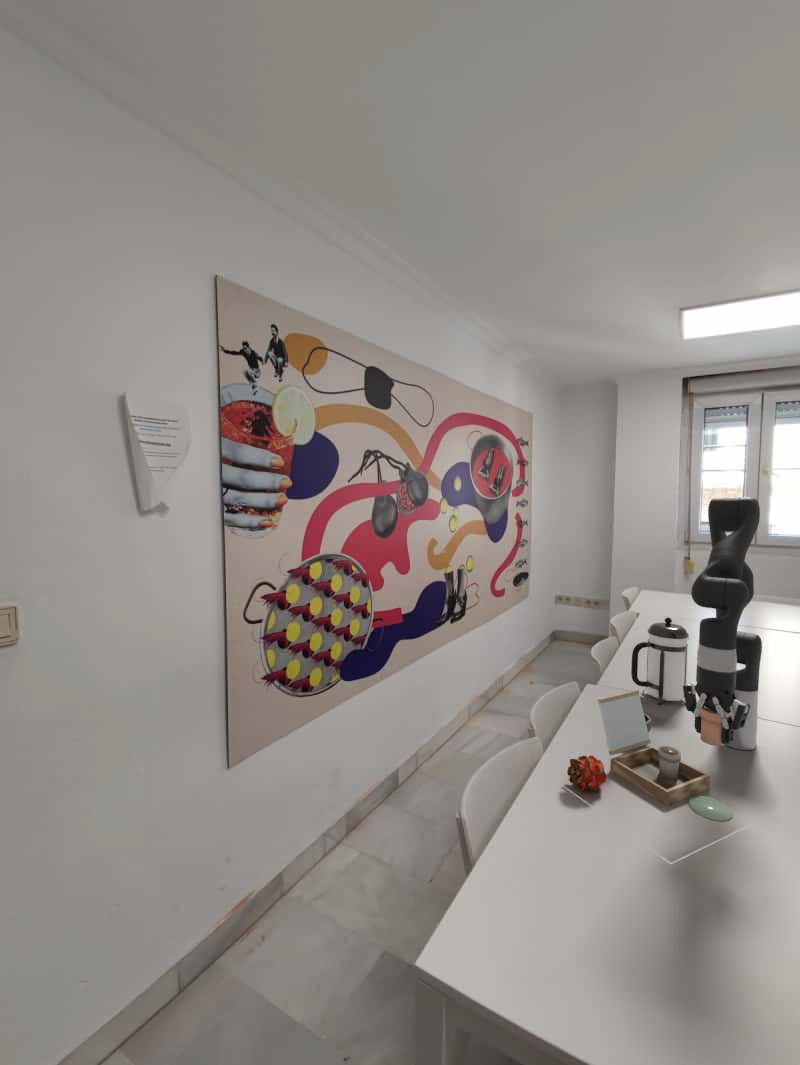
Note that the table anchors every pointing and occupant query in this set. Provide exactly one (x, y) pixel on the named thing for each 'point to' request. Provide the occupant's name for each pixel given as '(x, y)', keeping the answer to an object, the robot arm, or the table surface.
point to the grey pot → (669, 762)
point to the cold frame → (645, 776)
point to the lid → (624, 722)
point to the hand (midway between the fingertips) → (713, 737)
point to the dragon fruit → (587, 773)
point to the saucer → (710, 808)
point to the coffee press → (664, 661)
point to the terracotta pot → (711, 726)
